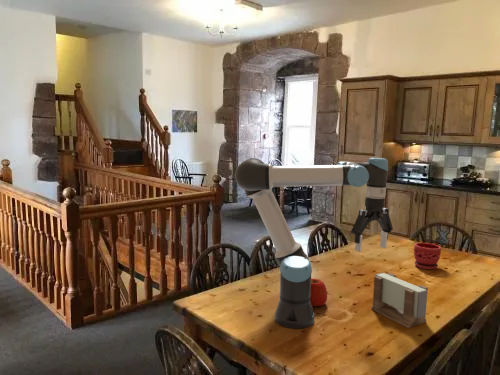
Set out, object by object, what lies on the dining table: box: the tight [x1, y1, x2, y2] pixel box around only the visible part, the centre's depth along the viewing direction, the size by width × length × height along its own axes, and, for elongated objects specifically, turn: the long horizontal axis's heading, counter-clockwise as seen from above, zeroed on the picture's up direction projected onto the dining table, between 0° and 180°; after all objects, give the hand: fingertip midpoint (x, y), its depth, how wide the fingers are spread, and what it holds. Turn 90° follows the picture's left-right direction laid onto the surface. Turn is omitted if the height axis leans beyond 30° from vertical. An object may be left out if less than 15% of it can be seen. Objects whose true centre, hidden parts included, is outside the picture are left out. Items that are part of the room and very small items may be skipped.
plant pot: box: [413, 242, 442, 270], centre depth 219 cm, size 13×13×12 cm
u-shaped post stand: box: [371, 272, 429, 329], centre depth 160 cm, size 10×18×14 cm, turn 30°
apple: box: [310, 278, 328, 307], centre depth 171 cm, size 11×11×11 cm
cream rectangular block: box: [374, 272, 429, 318], centre depth 160 cm, size 4×21×10 cm, turn 30°
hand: (370, 249), depth 164 cm, fingers open, 13 cm apart
